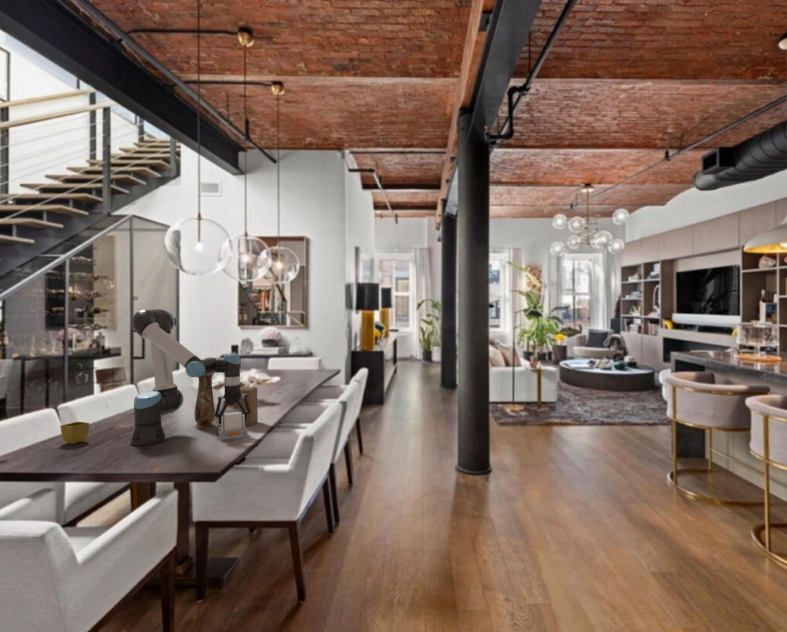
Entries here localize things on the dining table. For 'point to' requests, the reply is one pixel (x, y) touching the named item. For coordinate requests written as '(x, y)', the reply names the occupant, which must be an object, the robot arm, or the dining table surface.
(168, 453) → the dining table surface
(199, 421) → the vase
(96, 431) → the dining table surface
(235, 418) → the panel
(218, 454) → the dining table surface
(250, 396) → the block
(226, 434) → the frame
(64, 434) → the flower pot
